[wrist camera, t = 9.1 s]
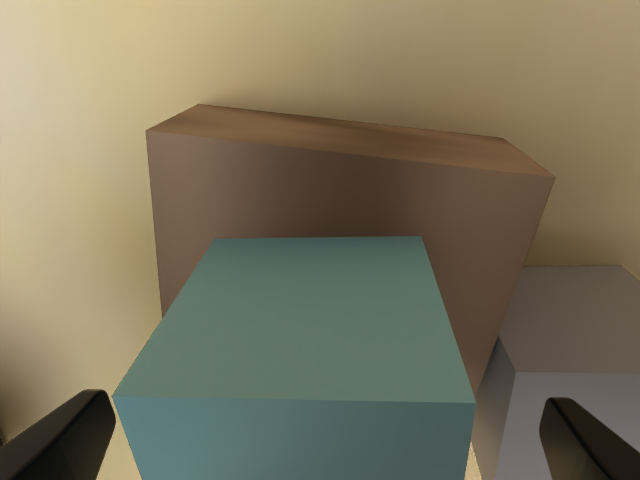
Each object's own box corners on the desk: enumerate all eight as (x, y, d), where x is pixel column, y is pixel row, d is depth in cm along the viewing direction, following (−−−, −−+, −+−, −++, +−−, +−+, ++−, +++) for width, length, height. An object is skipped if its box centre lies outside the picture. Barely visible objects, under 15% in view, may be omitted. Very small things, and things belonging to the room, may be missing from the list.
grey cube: (452, 376, 17) (489, 502, 12) (465, 266, 14) (515, 371, 10) (585, 377, 16) (673, 509, 12) (619, 264, 14) (744, 374, 10)
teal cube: (240, 388, 13) (180, 585, 8) (214, 238, 10) (111, 395, 6) (411, 391, 12) (444, 600, 8) (421, 236, 10) (476, 403, 6)
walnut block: (208, 334, 17) (170, 416, 13) (202, 101, 13) (145, 130, 9) (433, 361, 17) (455, 451, 13) (498, 135, 13) (555, 177, 9)
